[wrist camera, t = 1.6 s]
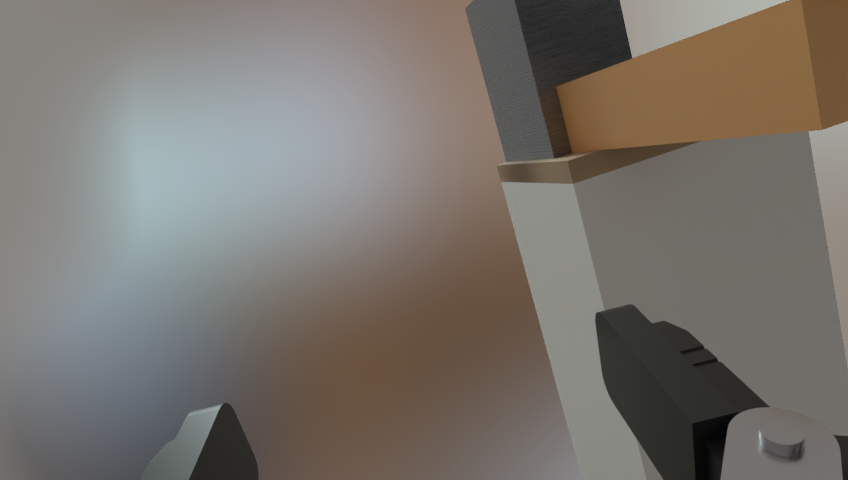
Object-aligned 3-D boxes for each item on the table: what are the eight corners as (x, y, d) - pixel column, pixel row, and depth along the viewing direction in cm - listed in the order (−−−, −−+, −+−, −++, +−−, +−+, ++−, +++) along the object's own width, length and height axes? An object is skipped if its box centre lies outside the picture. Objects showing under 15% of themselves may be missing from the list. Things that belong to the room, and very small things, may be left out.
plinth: (912, 763, 25) (800, 85, 19) (741, 865, 23) (567, 160, 18) (782, 636, 32) (673, 109, 26) (644, 709, 30) (496, 165, 24)
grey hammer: (953, 84, 11) (909, -307, 9) (789, 141, 10) (718, -271, 9) (582, 137, 25) (546, -13, 24) (506, 162, 25) (465, 8, 23)
